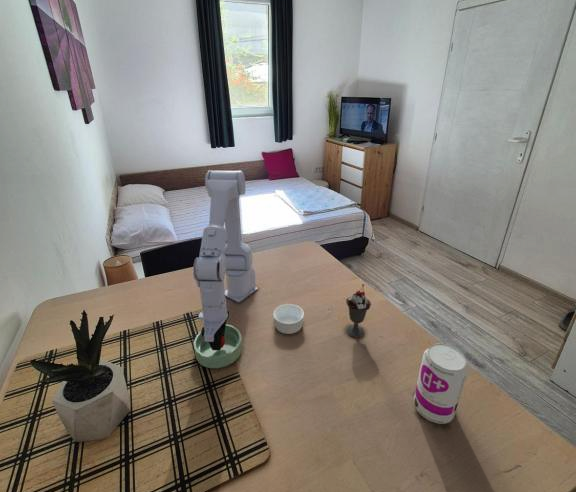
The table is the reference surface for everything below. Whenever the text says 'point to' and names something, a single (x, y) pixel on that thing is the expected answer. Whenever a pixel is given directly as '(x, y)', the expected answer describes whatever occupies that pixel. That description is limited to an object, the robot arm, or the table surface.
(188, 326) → the table surface
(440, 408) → the supplement can
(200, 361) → the bowl
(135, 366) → the table surface
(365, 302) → the sundae
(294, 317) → the ramekin
